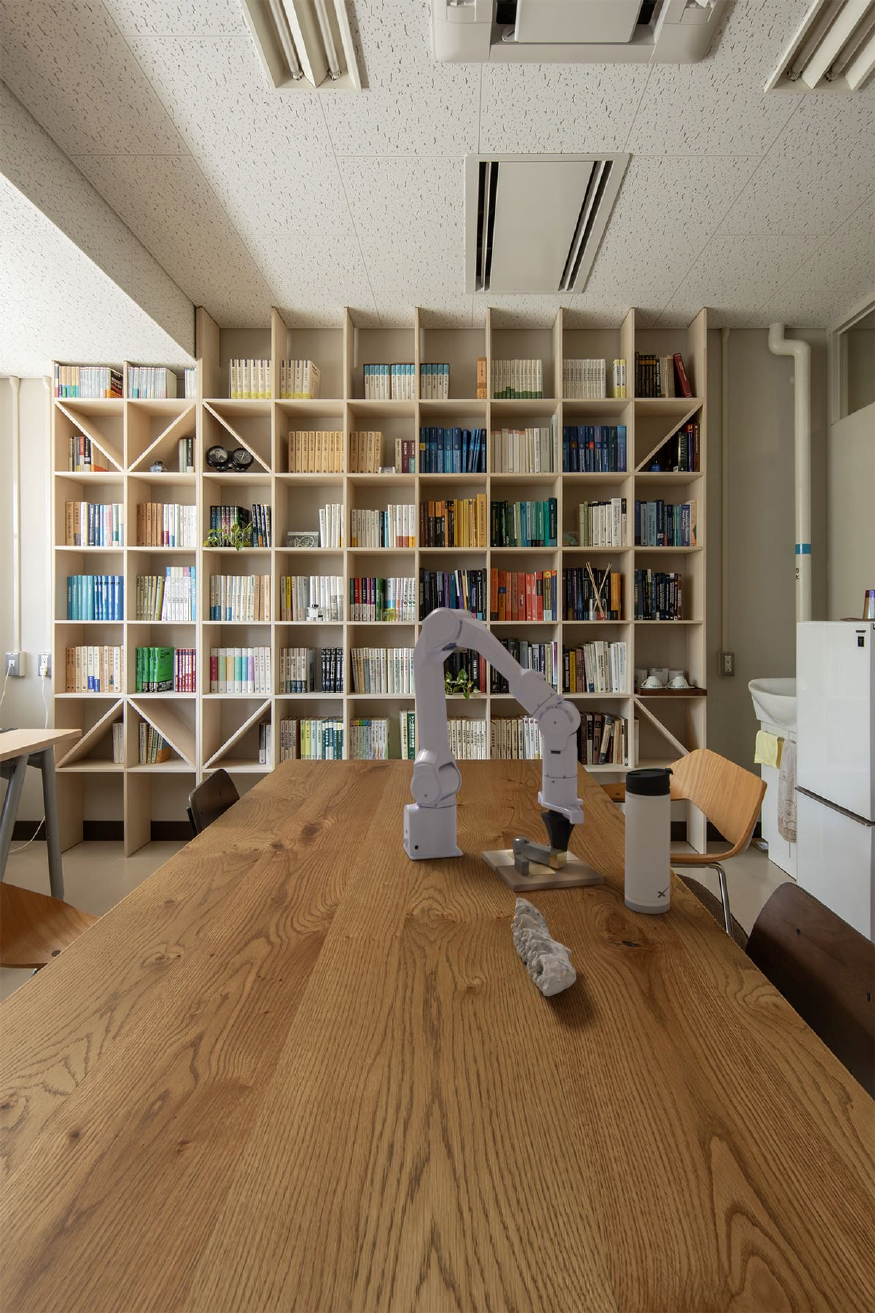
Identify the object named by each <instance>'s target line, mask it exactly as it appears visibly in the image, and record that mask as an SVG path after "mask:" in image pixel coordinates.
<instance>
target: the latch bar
mask: <svg viewBox="0 0 875 1313" xmlns="http://www.w3.org/2000/svg"><path fill="white" fill-rule="evenodd" d="M512 849H513V854H514V855H523V856H524V857H526V858H529V859H532V860H535V861H538V862H541V863H544V864H547V865H550V866H551V867H554V868H560V867H564V866H567V852H566V851H563V850H560V849H555V848H552V847H550V846H548V845H545V844H542V843H538V842H535V841H533V840H531V838H530V837H526V836H516V837H513V839H512Z"/></svg>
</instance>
